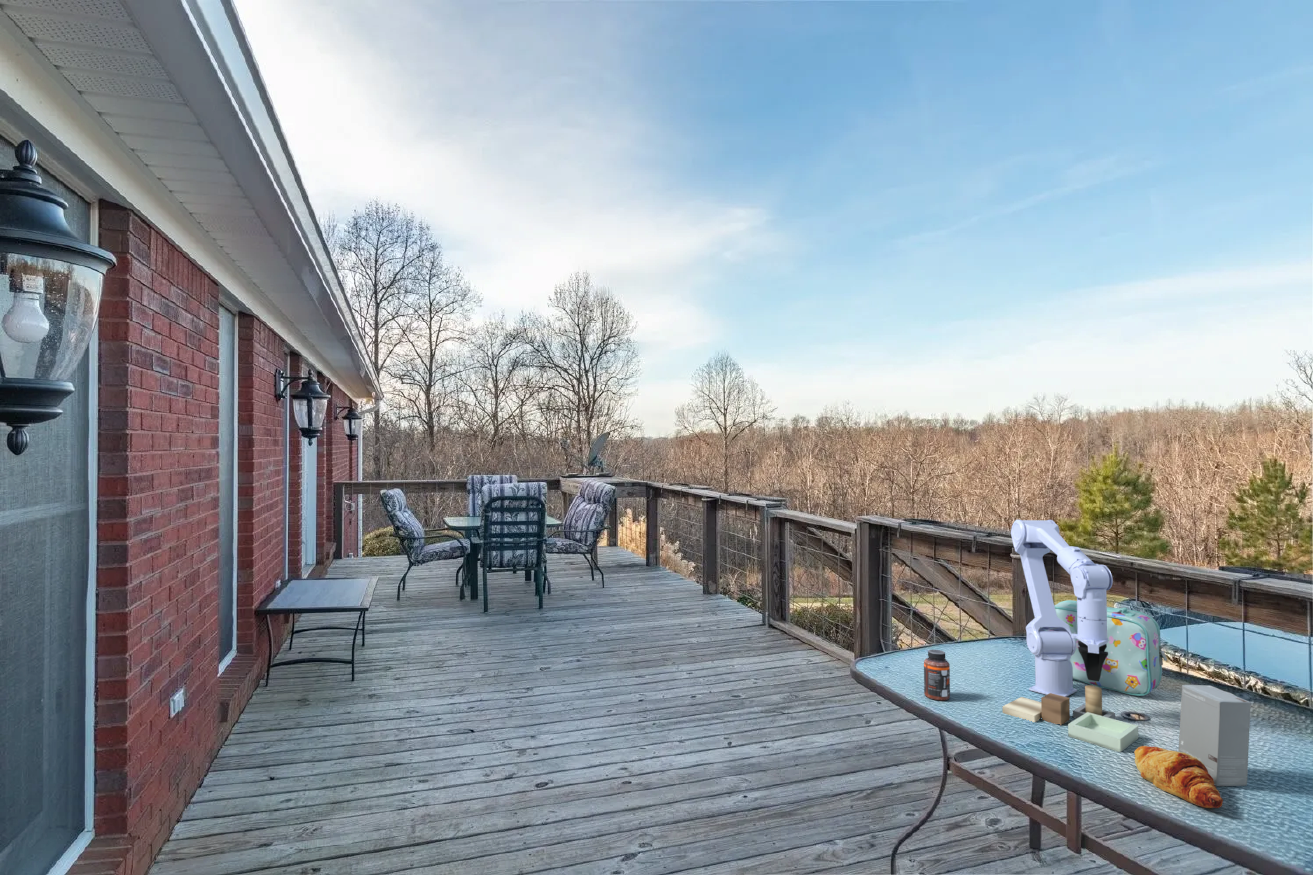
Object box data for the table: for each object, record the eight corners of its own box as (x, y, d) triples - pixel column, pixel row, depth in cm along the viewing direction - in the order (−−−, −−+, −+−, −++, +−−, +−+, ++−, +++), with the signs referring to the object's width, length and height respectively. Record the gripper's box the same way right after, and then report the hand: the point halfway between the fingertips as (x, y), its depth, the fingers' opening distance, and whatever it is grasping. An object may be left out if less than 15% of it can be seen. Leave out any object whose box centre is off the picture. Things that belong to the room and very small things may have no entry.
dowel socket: (1083, 710, 153) (1083, 704, 153) (1115, 719, 148) (1115, 712, 148) (1072, 717, 149) (1072, 710, 149) (1105, 726, 144) (1104, 719, 144)
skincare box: (1176, 766, 125) (1175, 683, 126) (1210, 764, 126) (1208, 682, 126) (1218, 788, 117) (1216, 699, 117) (1254, 786, 117) (1252, 698, 118)
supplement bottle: (952, 702, 158) (952, 655, 158) (926, 700, 159) (926, 654, 159) (946, 693, 164) (946, 648, 164) (921, 691, 165) (921, 647, 165)
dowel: (1088, 714, 150) (1088, 684, 151) (1104, 718, 148) (1103, 688, 148) (1083, 717, 148) (1082, 687, 149) (1099, 722, 146) (1098, 691, 146)
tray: (1087, 723, 145) (1087, 711, 145) (1138, 738, 138) (1138, 725, 138) (1068, 736, 139) (1068, 724, 139) (1120, 752, 131) (1120, 739, 131)
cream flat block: (1021, 704, 158) (1021, 696, 158) (1053, 713, 152) (1052, 705, 152) (1002, 714, 151) (1002, 706, 152) (1034, 724, 146) (1034, 715, 146)
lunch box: (1172, 695, 163) (1170, 610, 163) (1156, 704, 157) (1154, 615, 158) (1058, 667, 185) (1056, 592, 186) (1040, 674, 179) (1039, 596, 180)
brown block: (1050, 714, 150) (1050, 692, 151) (1069, 720, 147) (1069, 697, 147) (1041, 719, 147) (1041, 697, 147) (1061, 725, 144) (1060, 702, 144)
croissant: (1123, 776, 128) (1102, 739, 129) (1170, 754, 128) (1149, 717, 129) (1204, 835, 107) (1178, 791, 108) (1260, 809, 107) (1234, 764, 107)
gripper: (1071, 609, 157) (1072, 665, 157) (1071, 621, 145) (1072, 682, 145) (1106, 613, 153) (1107, 670, 153) (1109, 626, 141) (1111, 688, 141)
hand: (1093, 677), depth 149 cm, fingers open, 4 cm apart
